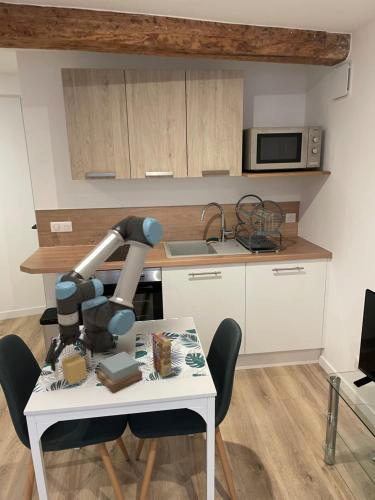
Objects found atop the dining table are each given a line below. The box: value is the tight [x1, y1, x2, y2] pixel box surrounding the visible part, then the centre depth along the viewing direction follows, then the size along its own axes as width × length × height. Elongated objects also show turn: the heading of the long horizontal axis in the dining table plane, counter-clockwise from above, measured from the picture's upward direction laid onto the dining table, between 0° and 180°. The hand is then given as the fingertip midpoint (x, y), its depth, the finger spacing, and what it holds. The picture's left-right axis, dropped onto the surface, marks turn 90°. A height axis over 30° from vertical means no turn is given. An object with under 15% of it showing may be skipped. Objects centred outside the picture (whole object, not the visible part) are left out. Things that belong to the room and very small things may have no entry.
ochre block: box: [60, 352, 88, 385], centre depth 142 cm, size 7×7×8 cm
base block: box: [96, 368, 143, 394], centre depth 140 cm, size 13×13×4 cm
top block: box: [99, 351, 140, 382], centre depth 140 cm, size 11×11×4 cm
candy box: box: [151, 331, 172, 378], centre depth 144 cm, size 9×4×15 cm, turn 32°
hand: (73, 370), depth 142 cm, fingers open, 13 cm apart
